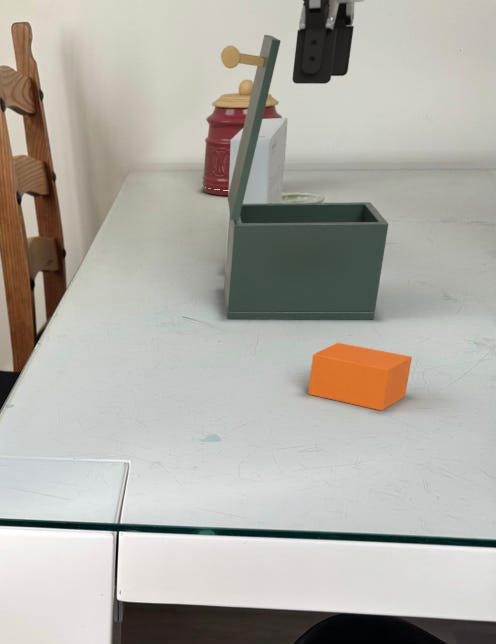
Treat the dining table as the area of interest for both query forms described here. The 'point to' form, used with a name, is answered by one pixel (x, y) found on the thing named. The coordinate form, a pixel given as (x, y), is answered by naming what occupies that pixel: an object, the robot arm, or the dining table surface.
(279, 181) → the skincare box
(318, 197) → the saucer
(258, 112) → the bin lid
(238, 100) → the kitchen canister
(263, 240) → the bin
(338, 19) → the robot arm
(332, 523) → the dining table surface
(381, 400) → the orange block
